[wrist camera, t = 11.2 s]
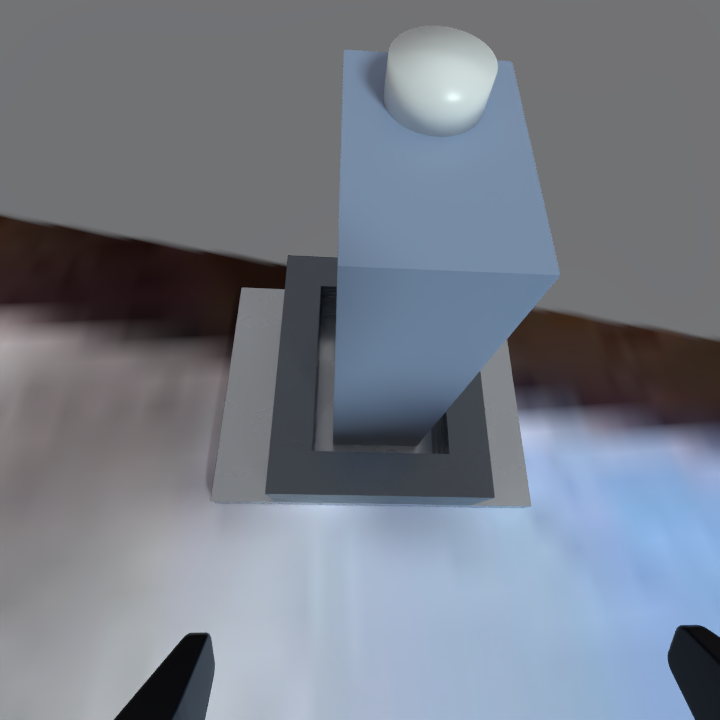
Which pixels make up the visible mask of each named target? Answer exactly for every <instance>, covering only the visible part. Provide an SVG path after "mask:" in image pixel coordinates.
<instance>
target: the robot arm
mask: <svg viewBox="0 0 720 720" xmlns="http://www.w3.org/2000/svg"><path fill="white" fill-rule="evenodd" d="M668 663H669V667H670V669H671V672H672V674H673V676H674V678H675V680H676V682H677V684H678V686H679V688H680V690H681V692H682V694H683V696H684V698H685V700H686V702H687V704H688V706H689V708H690V710H691V712H692V715H693V717H694V719H695V720H720V637H719V636H717V635H716V634H714V633H713V632H711V631H710V630H708V629H707V628H705V627H703V626H700V625H681V626H679V627H678V628H677V629H676V631H675V634H674V637H673V640H672V643H671V646H670V649H669V651H668ZM214 670H215V662H214V655H213V648H212V641H211V636H210V634H209V633H189V634H187V635H186V636H185V637H184V638H183V639H182V640H181V641H180V642H179V643H178V645H177V646H176V647H175V648H174V649H173V651H172V652H171V653H170V654H169V655H168V656H167V658H166V659H165V660H164V661H163V662H162V663H161V665H160V666H159V667H158V668H157V669H156V671H155V672H154V673H153V674H152V675H151V676H150V678H149V679H148V680H147V681H146V682H145V684H144V685H143V686H142V687H141V688H140V689H139V691H138V692H137V693H136V694H135V695H134V697H133V698H132V699H131V700H130V701H129V702H128V704H127V705H126V706H125V707H124V708H123V709H122V711H121V712H120V713H119V714H118V715H117V717H116V718H115V719H114V720H205V716H206V712H207V707H208V702H209V697H210V692H211V687H212V682H213V677H214Z"/></svg>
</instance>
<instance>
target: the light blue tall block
mask: <svg viewBox="0 0 720 720" xmlns="http://www.w3.org/2000/svg"><path fill="white" fill-rule="evenodd" d="M340 170H341V171H340V201H339V236H338V270H337V306H336V343H335V379H334V416H333V445H374V446H417V445H418V444H419V443H420V442H421V441H422V439H423V438H424V437H425V436H426V435H427V433H428V432H429V431H430V430H431V429H432V427H433V426H434V425H435V424H436V423H437V422H438V420H439V419H440V418H441V417H442V416H443V414H444V413H445V412H446V411H447V410H448V408H449V407H450V406H451V405H452V404H453V402H454V401H455V400H456V399H457V398H458V397H459V395H460V394H461V393H462V392H463V391H464V389H465V388H466V387H467V386H468V385H469V383H470V382H471V381H472V380H473V379H474V377H475V376H476V375H477V374H478V373H479V372H480V370H481V369H482V368H483V367H484V366H485V364H486V363H487V362H488V361H489V360H490V358H491V357H492V356H493V355H494V354H495V352H496V351H497V350H498V349H499V348H500V347H501V345H502V344H503V343H504V342H505V341H506V339H507V338H508V337H509V336H510V335H511V333H512V332H513V331H514V330H515V329H516V327H517V326H518V325H519V324H520V323H521V322H522V320H523V319H524V318H525V317H526V316H527V314H528V313H529V312H530V311H531V310H532V308H533V307H534V306H535V305H536V304H537V302H538V301H539V300H540V299H541V298H542V296H543V295H544V294H545V293H546V292H547V291H548V289H549V288H550V287H551V286H552V285H553V283H554V282H555V281H556V280H557V279H558V277H559V276H560V271H559V267H558V263H557V258H556V254H555V250H554V245H553V240H552V236H551V232H550V227H549V223H548V218H547V214H546V210H545V205H544V201H543V196H542V192H541V188H540V184H539V179H538V174H537V170H536V165H535V161H534V156H533V152H532V148H531V143H530V139H529V134H528V130H527V126H526V121H525V117H524V112H523V108H522V103H521V99H520V95H519V90H518V86H517V81H516V77H515V72H514V68H513V64H512V62H511V61H498V60H497V59H496V57H495V55H494V53H493V52H492V50H491V49H490V48H489V47H488V46H487V45H486V44H485V43H484V42H482V41H481V40H479V39H478V38H476V37H475V36H473V35H471V34H469V33H467V32H464V31H461V30H458V29H455V28H450V27H445V26H422V27H417V28H413V29H410V30H407V31H405V32H403V33H401V34H400V35H399V36H397V37H396V38H395V39H394V40H393V42H392V43H391V45H390V48H389V52H388V53H386V52H371V51H357V50H344V65H343V99H342V134H341V169H340Z"/></svg>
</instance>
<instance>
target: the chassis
mask: <svg viewBox="0 0 720 720" xmlns="http://www.w3.org/2000/svg"><path fill="white" fill-rule="evenodd" d="M337 270H338V258H332V257H311V256H290V255H288V261H287V271H286V281H285V289H264V288H242V289H241V296H240V302H239V309H238V316H237V323H236V330H235V337H234V344H233V351H232V357H231V364H230V371H229V378H228V385H227V392H226V399H225V406H224V412H223V419H222V426H221V433H220V440H219V447H218V454H217V461H216V467H215V474H214V481H213V488H212V495H211V501H212V502H215V503H254V504H315V505H375V506H436V507H497V508H525V507H530V506H531V501H530V494H529V487H528V481H527V474H526V467H525V460H524V453H523V446H522V439H521V433H520V426H519V419H518V412H517V405H516V398H515V391H514V385H513V378H512V371H511V364H510V357H509V350H508V344H507V339H506V341H505V342H504V343H503V344H502V345H501V347H500V348H499V349H498V350H497V351H496V352H495V354H494V355H493V356H492V357H491V358H490V360H489V361H488V362H487V363H486V364H485V366H484V367H483V368H482V369H481V370H480V372H479V373H478V374H477V375H476V376H475V377H474V379H473V380H472V381H471V382H470V383H469V385H468V386H467V387H466V388H465V389H464V391H463V392H462V393H461V394H460V395H459V397H458V398H457V399H456V400H455V401H454V402H453V404H452V405H451V406H450V407H449V408H448V410H447V411H446V412H445V413H444V414H443V416H442V417H441V418H440V419H439V420H438V422H437V423H436V424H435V425H434V426H433V427H432V429H431V430H430V431H429V432H428V433H427V435H426V436H425V437H424V438H423V439H422V441H421V442H420V443H419V444H418V445H417V446H374V445H333V416H334V379H335V343H336V306H337Z"/></svg>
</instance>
